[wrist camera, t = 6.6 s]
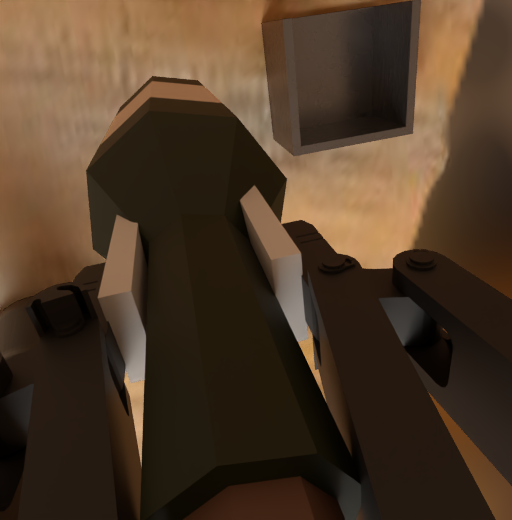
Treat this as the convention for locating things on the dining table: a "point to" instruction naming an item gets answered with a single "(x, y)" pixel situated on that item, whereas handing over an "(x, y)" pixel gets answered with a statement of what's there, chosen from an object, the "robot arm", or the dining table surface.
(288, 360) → the wine bottle
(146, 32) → the dining table surface
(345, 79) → the bottle rest
